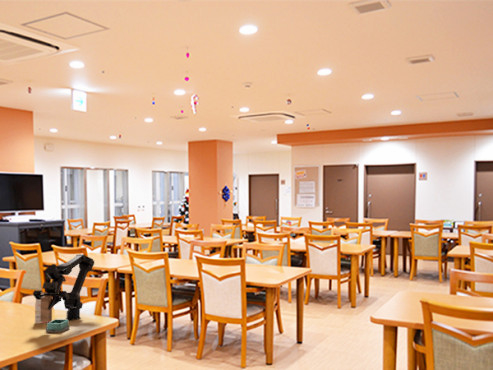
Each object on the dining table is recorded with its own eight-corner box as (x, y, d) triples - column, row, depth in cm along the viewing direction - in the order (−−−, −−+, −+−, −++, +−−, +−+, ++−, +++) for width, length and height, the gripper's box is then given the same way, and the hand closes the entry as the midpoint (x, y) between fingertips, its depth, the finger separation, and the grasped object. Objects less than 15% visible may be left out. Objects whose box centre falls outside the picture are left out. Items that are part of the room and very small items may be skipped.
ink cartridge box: (52, 320, 251) (52, 295, 252) (50, 322, 247) (51, 297, 247) (36, 321, 249) (36, 296, 250) (34, 323, 244) (35, 298, 245)
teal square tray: (53, 326, 240) (53, 318, 240) (73, 326, 239) (73, 318, 239) (41, 332, 228) (41, 324, 228) (62, 333, 227) (62, 324, 227)
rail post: (44, 319, 230) (45, 295, 231) (51, 319, 230) (51, 295, 230) (40, 321, 226) (40, 297, 227) (47, 321, 226) (47, 297, 226)
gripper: (34, 275, 233) (22, 300, 222) (66, 276, 232) (55, 301, 221) (42, 286, 241) (30, 311, 230) (73, 287, 239) (63, 312, 228)
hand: (44, 309), depth 227 cm, fingers closed on rail post, 4 cm apart
